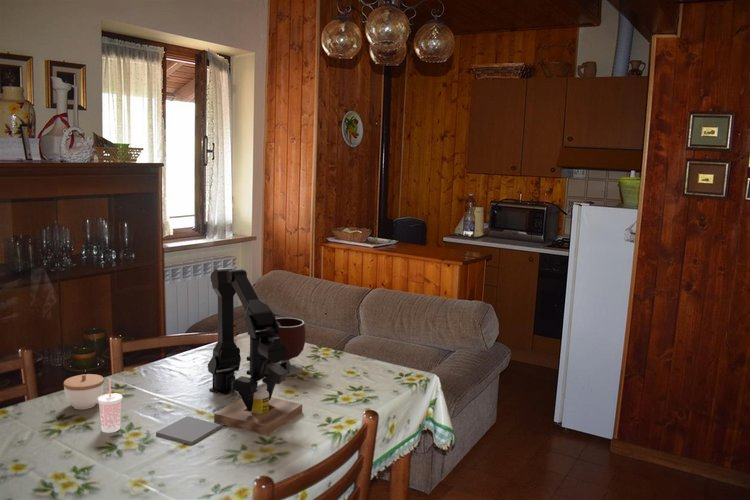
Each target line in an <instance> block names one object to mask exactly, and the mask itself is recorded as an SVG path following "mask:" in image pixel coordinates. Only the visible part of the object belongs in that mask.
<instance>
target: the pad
mask: <svg viewBox="0 0 750 500" xmlns="http://www.w3.org/2000/svg"><path fill="white" fill-rule="evenodd" d="M221 428H222V424H220V423H216V422H212V421H207V420H205V419H199V418H195V417H191V416H188V415H186V416H184V417H183V418H180V419H178V420H177V421H174V422H173V423H171V424H168V425H167V426H165V427H163V428H161V429H160V430H157V431H155V436H159V437H161V438H165V439H169V440H172V441H176V442H180V443H184V444H187V445H191V446H192V445H195V444H197V442H199V441H200V440H202V439H204V438H205V437H207V436H209V435H211V434H212V433H215V432H216V431H218V430H219V429H221Z"/></svg>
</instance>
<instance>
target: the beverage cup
mask: <svg viewBox="0 0 750 500" xmlns="http://www.w3.org/2000/svg"><path fill="white" fill-rule="evenodd" d="M111 383H112V380H111V379H110V378H109V379H108V393H105V394H104V393H103V394H102V396H100V397H98V402H97V403H98V405H99V407H98V408H99V415H100V416H99V417H100V426H101V432H103V433H107V434H109V433H111V434H112V433H115V432H117V431H119V430H120V429H121V419H122V418H121V417H122V400H123V395H122V394H120V393H115V392H114V393H112V384H111Z"/></svg>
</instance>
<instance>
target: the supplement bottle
mask: <svg viewBox="0 0 750 500" xmlns="http://www.w3.org/2000/svg"><path fill="white" fill-rule="evenodd" d="M256 390H258V391H257V392H256V393H255V394H254V397H253V407H252V411H250V412H252V413H256V414H260V415H263V414H265V413H267V412H268V411H269V392H268V391H266V390H267V384H266V383H263V382H262V381H258V386H257V389H256Z"/></svg>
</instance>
